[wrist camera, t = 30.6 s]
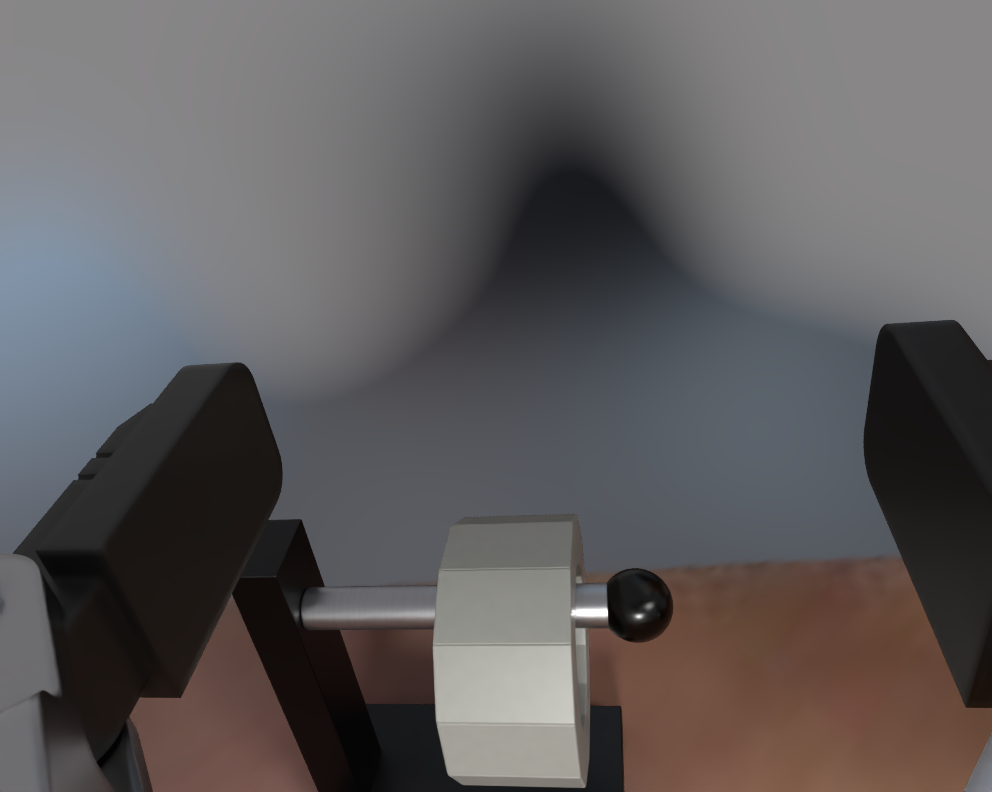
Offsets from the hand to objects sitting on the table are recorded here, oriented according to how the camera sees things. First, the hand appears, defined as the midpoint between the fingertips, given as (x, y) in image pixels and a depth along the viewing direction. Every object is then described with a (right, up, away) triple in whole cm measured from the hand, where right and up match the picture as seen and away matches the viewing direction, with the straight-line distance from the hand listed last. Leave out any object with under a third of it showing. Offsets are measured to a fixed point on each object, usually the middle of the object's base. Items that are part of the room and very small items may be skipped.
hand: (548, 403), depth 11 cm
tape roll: (+1, -14, +23) cm, 27 cm away
